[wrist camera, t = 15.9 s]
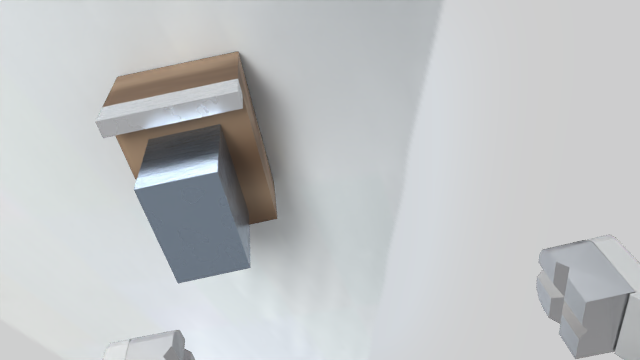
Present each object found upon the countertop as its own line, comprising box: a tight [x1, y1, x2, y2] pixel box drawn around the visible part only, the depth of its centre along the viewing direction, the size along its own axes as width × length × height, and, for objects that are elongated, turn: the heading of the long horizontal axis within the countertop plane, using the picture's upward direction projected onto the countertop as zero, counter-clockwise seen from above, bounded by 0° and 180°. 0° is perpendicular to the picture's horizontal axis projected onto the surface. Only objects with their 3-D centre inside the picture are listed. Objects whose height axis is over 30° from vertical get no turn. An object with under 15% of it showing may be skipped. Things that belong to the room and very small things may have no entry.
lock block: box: [134, 124, 250, 283], centre depth 35 cm, size 8×5×6 cm, turn 10°
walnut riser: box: [95, 52, 277, 225], centre depth 38 cm, size 12×9×7 cm
